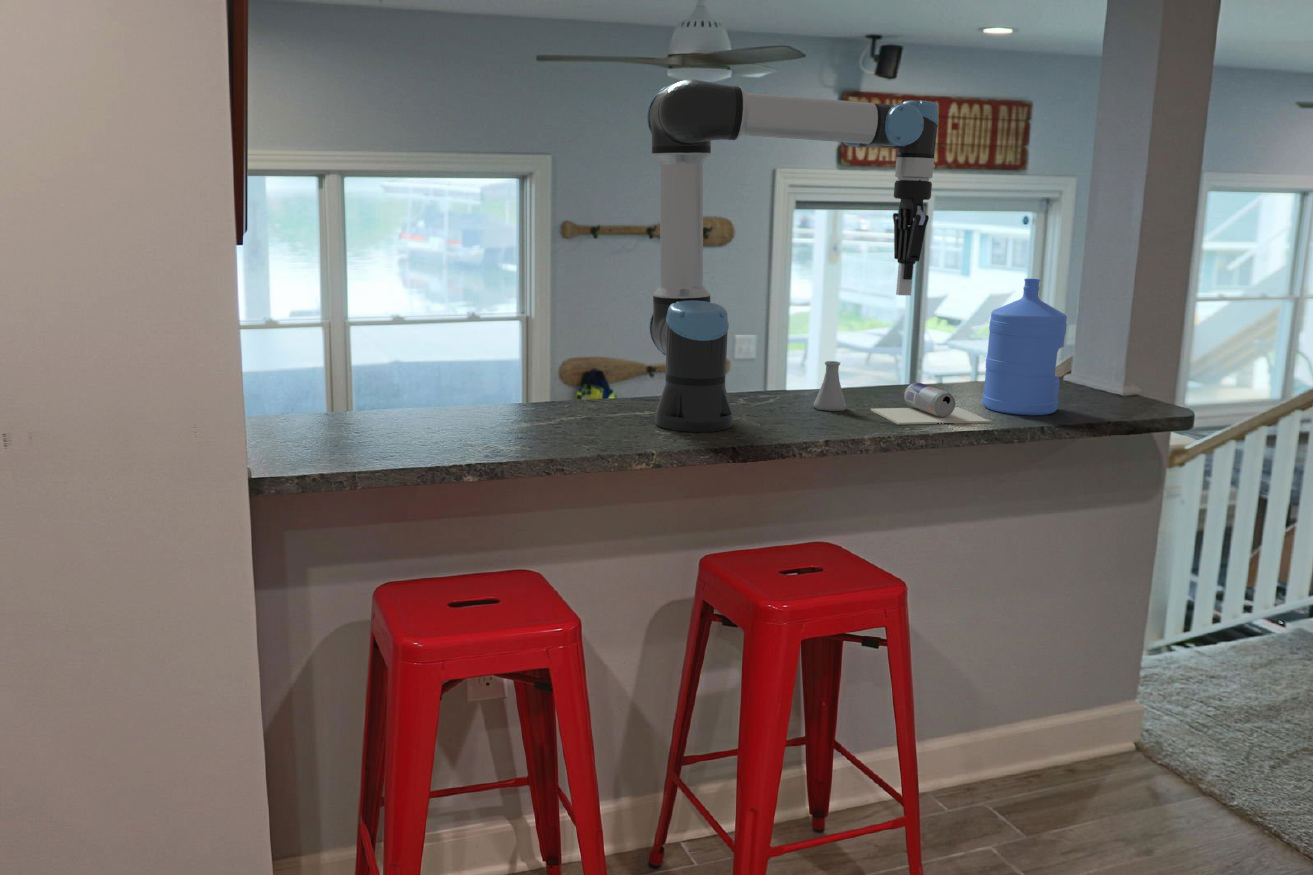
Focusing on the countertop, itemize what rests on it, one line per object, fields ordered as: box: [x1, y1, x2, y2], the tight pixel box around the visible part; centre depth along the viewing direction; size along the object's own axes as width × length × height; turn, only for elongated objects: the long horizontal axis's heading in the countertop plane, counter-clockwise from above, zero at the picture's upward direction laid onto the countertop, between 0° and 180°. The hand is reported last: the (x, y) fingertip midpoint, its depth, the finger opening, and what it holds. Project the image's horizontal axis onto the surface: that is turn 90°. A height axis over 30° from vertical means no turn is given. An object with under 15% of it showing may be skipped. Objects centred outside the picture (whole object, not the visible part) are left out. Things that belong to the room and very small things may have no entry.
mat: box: [870, 406, 991, 426], centre depth 229 cm, size 20×14×1 cm
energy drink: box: [903, 381, 956, 417], centre depth 231 cm, size 5×5×12 cm
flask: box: [812, 360, 848, 412], centre depth 234 cm, size 7×7×10 cm
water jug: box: [981, 278, 1068, 416], centre depth 237 cm, size 16×16×28 cm
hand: (903, 294), depth 232 cm, fingers closed
